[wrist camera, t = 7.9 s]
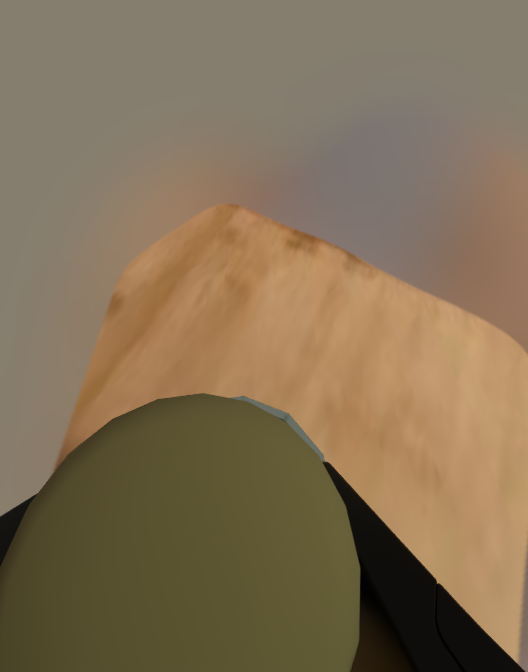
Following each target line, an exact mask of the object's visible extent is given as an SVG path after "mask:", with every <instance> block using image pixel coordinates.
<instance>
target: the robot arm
mask: <svg viewBox="0 0 528 672" xmlns="http://www.w3.org/2000/svg"><path fill="white" fill-rule="evenodd" d="M322 463H323V465H324V466H325V468H326V470H327V472H328V474H329V476H330V478H331V480H332V481H333V483H334V485H335V487H336V489H337V491H338V493H339V494H340V496H341V498H342V500H343V502H344V504H345V506H346V510H347V514H348V518H349V522H350V527H351V531H352V535H353V539H354V544H355V548H356V552H357V556H358V561H359V565H360V617H359V643H358V647H357V651H356V655H355V658H354V662H353V666H352V669H351V672H525V671H524V670H523V669H522V668H521V667H520V666H519V665H518V664H517V663H516V662H515V661H514V660H513V659H512V658H511V657H510V656H509V655H508V654H507V653H506V652H505V651H504V650H503V649H502V648H501V647H500V646H499V645H498V644H497V643H496V642H495V641H494V640H493V639H492V638H491V637H490V636H489V635H488V634H487V633H486V632H485V631H484V630H483V629H482V628H481V627H480V626H479V625H478V624H477V623H476V622H475V620H474V619H473V618H472V617H471V616H470V615H469V614H468V613H467V612H466V611H465V610H464V609H463V608H462V607H461V606H460V605H459V604H458V603H457V601H456V600H455V599H454V598H453V597H452V596H451V595H450V594H449V593H448V592H447V591H446V589H445V588H444V587H443V586H442V585H441V584H439V583H438V584H437V580H436V579H435V578H434V577H433V575H432V574H431V573H430V572H429V571H428V570H427V569H426V568H425V567H424V566H423V565H422V563H421V562H420V561H419V560H418V559H417V558H416V557H415V556H414V555H413V554H412V553H411V551H410V550H409V549H408V548H407V547H406V546H405V545H404V544H403V543H402V542H401V541H400V539H399V538H398V537H397V536H396V535H395V534H394V533H393V532H392V531H391V530H390V529H389V527H388V526H387V525H386V524H385V523H384V522H383V521H382V520H381V519H380V518H379V517H378V515H377V514H376V513H375V512H374V511H373V510H372V509H371V508H370V507H369V506H368V505H367V503H366V502H365V501H364V500H363V499H362V498H361V497H360V496H359V495H358V494H357V492H356V491H355V490H354V489H353V488H352V487H351V486H350V485H349V484H348V483H347V482H346V480H345V479H344V478H343V477H342V476H341V475H340V474H339V473H338V472H337V471H336V470H335V468H334V467H333V466H332V465H331V464H330V463H328V462H323V461H322ZM37 494H38V493H37ZM37 494H36V495H37ZM36 495H34V496H32V497H31V498H29V499H28V500H26V501H24V502H23V503H21V504H20V505H18V506H16V507H15V508H13V509H12V510H10V511H9V512H7V513H5V514H4V515H2V516H0V566H1V564H2V562H3V560H4V558H5V555H6V553H7V551H8V549H9V547H10V545H11V542H12V540H13V538H14V536H15V534H16V532H17V529H18V527H19V525H20V523H21V521H22V519H23V516H24V514H25V512H26V510H27V508H28V506H29V505H30V503H31V502H32V500H33V499H34V498H35V497H36Z"/></svg>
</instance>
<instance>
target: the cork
mask: <svg viewBox="0 0 528 672" xmlns="http://www.w3.org/2000/svg"><path fill="white" fill-rule="evenodd" d="M359 617H360V565H359V561H358V556H357V552H356V548H355V544H354V539H353V535H352V531H351V527H350V522H349V518H348V514H347V510H346V506H345V504H344V502H343V500H342V498H341V496H340V494H339V493H338V491H337V489H336V487H335V485H334V483H333V481H332V480H331V478H330V476H329V474H328V472H327V470H326V468H325V466H324V465H323V463H322V461H321V459H320V457H319V455H318V454H317V453H316V452H315V451H314V450H313V449H312V448H311V447H310V446H309V445H308V444H307V443H306V442H305V441H304V440H303V439H302V438H301V437H300V436H299V435H298V434H297V433H296V432H295V431H294V430H293V429H292V428H291V427H290V426H289V425H288V424H287V422H285V421H283V420H281V419H279V418H278V417H276V416H274V415H272V414H270V413H268V412H266V411H265V410H263V409H261V408H259V407H257V406H255V405H253V404H251V403H250V402H247V401H242V400H237V399H231V398H226V397H220V396H214V395H209V394H203V393H202V394H194V395H187V396H179V397H171V398H164V399H157V400H155V401H153V402H150V403H148V404H146V405H144V406H141V407H139V408H137V409H134V410H132V411H130V412H128V413H125V414H123V415H121V416H118V417H116V418H114V419H112V420H111V421H109V422H108V423H107V424H106V425H104V426H103V427H102V428H101V429H99V430H98V431H97V432H96V433H94V434H93V435H92V436H91V437H89V438H88V439H87V440H86V441H84V442H83V443H82V444H80V445H79V446H78V447H77V448H75V449H74V450H73V451H72V452H70V453H69V454H68V455H67V457H66V458H65V459H64V461H63V462H62V463H61V464H60V466H59V467H58V468H57V470H56V471H55V472H54V473H53V475H52V476H51V477H50V479H49V480H48V481H47V482H46V484H45V485H44V486H43V488H42V489H41V490H40V491H39V493H38V494H37V495H36V497H35V498H34V499H33V500H32V502H31V503H30V505H29V506H28V508H27V510H26V512H25V514H24V516H23V519H22V521H21V523H20V525H19V527H18V529H17V532H16V534H15V536H14V538H13V540H12V542H11V545H10V547H9V549H8V551H7V553H6V555H5V558H4V560H3V562H2V564H1V566H0V672H351V669H352V666H353V662H354V658H355V655H356V651H357V647H358V643H359Z"/></svg>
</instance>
